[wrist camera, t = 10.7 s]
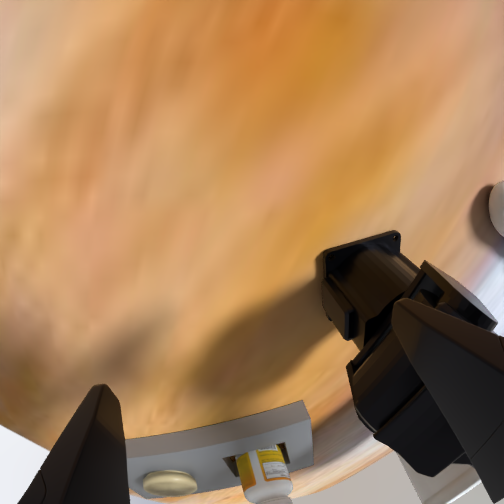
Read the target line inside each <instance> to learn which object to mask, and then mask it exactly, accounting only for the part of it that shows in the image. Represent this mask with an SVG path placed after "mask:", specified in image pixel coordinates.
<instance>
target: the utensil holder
mask: <svg viewBox="0 0 504 504" xmlns="http://www.w3.org/2000/svg"><path fill="white" fill-rule="evenodd" d="M396 453H397V452H396ZM397 455H398V457H399V458H400V461H401V463H402V464H403V466H404V468H405V471H406V472H407V475H408V476H409V479H410V480H411V482H412V484H413V486H414V488H415V490H416V492H417V494H418V496H419V498H420V500H421V502H422V504H450V503H452V502H453V501H455V500H456V499H458V498H459V497H461V496H462V495H464V494H465V493H467V492H468V491H470V490H471V489H472V488H474V487H475V486H477V485H478V484H479V483H481V482H482V481H481V479H480V478H479V476H478V474H477V472H476V470H475V469H474V468H473V467H471V466H470V465H460V464H450V465H449V466H448V467H447V468H445V469H444V470H443V471H442V472H440V473H439V474H438V475H436V476H435V477H428V476H425V475H422V474H419V473H417V472H416V471H415V470H414V469H413V468H412V467H411V466H410V465H409V464H408V463H407V462H406V461H405V460H404V459H403V458H402V457H401V456H400V455H399V454H398V453H397Z"/></svg>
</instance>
